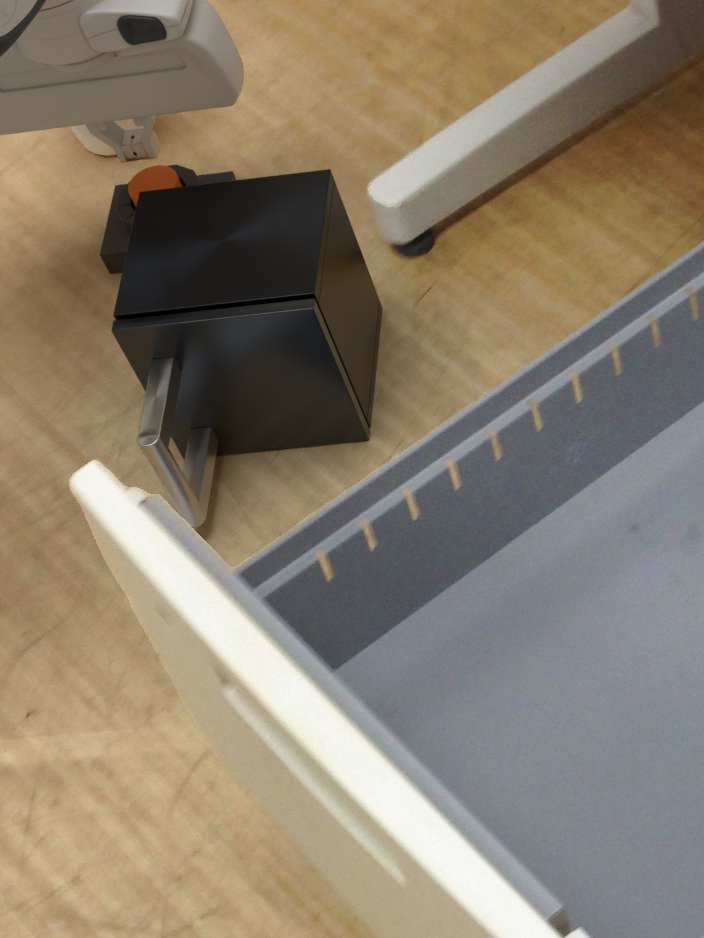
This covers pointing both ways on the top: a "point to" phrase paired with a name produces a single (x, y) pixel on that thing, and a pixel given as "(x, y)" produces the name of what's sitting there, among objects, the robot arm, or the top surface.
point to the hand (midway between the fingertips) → (141, 155)
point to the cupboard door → (235, 389)
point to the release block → (125, 211)
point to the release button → (153, 180)
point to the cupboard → (256, 259)
